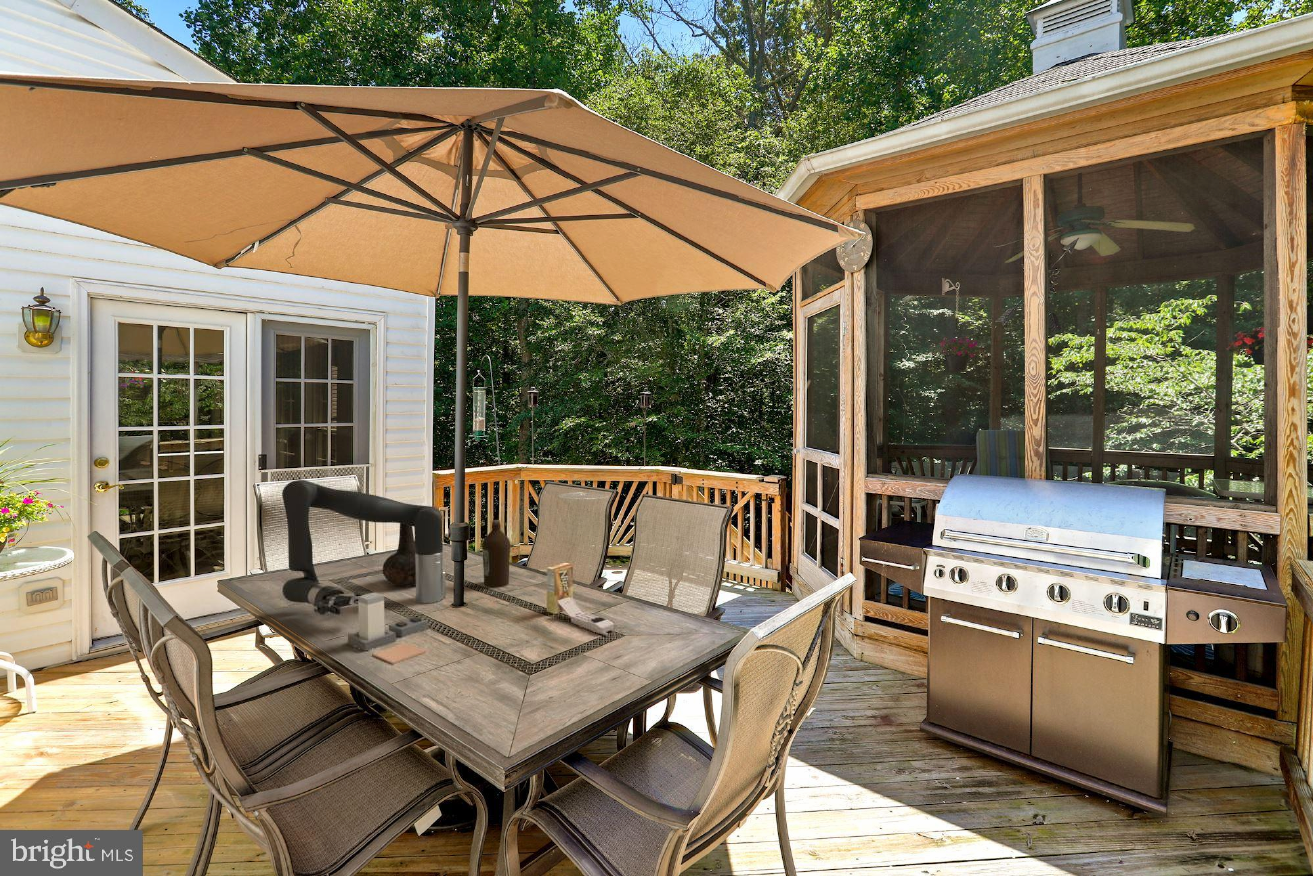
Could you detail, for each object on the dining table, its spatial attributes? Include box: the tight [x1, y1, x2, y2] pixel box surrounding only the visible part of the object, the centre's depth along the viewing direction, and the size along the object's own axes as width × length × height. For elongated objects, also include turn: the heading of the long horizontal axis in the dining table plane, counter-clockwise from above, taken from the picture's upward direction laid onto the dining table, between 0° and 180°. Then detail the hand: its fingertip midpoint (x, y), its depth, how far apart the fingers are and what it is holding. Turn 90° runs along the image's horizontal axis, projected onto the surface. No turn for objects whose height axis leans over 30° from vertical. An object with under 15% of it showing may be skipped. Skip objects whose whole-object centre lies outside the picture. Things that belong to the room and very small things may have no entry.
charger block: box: [357, 592, 386, 641], centre depth 183 cm, size 5×5×14 cm
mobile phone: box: [558, 597, 614, 637], centre depth 199 cm, size 6×6×25 cm
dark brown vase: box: [382, 523, 416, 587], centre depth 242 cm, size 18×18×28 cm
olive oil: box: [481, 519, 511, 588], centre depth 242 cm, size 11×11×25 cm
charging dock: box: [347, 616, 429, 652], centre depth 188 cm, size 21×9×3 cm, turn 145°
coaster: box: [372, 642, 427, 665], centre depth 175 cm, size 10×10×1 cm
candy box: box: [546, 562, 574, 615], centre depth 213 cm, size 9×4×15 cm, turn 145°
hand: (353, 607), depth 188 cm, fingers open, 8 cm apart
